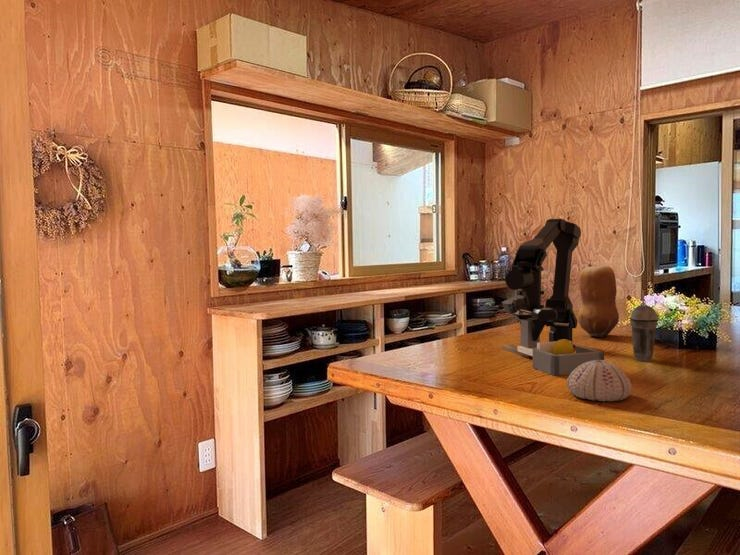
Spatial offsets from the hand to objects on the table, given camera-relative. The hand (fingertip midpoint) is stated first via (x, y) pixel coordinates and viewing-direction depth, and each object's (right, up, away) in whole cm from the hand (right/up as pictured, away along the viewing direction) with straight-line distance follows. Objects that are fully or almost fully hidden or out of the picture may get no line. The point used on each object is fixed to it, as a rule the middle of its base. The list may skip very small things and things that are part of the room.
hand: (530, 339), depth 170 cm
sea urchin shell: (+3, -8, -43) cm, 43 cm away
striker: (+1, -4, -5) cm, 6 cm away
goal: (+5, -6, -17) cm, 19 cm away
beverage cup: (+30, -5, -7) cm, 31 cm away
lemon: (+4, -5, -13) cm, 15 cm away
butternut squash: (+33, -3, +31) cm, 45 cm away
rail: (-2, -5, +6) cm, 8 cm away
